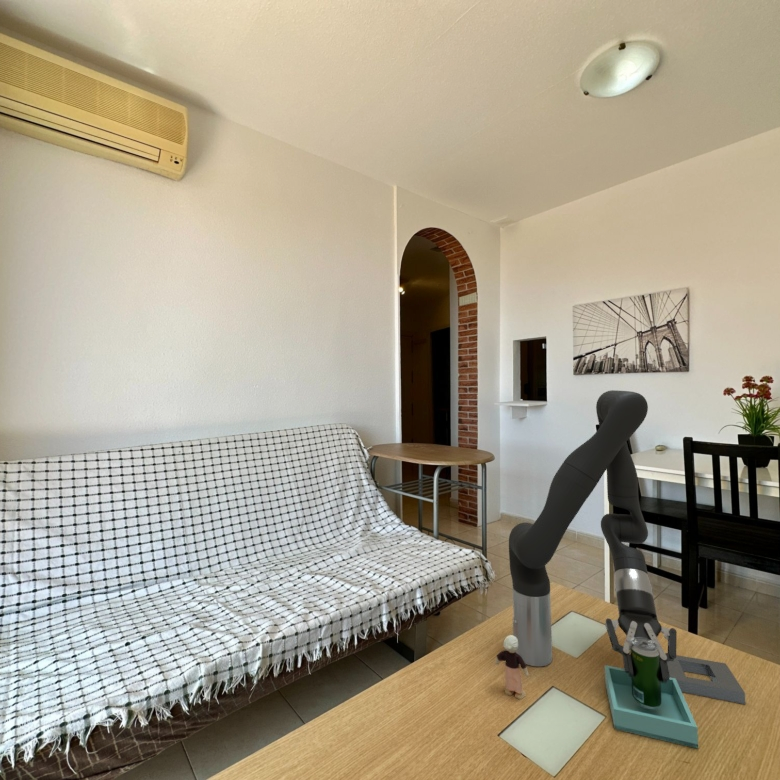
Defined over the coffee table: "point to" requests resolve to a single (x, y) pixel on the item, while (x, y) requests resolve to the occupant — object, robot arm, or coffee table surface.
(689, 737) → the tray
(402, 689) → the coffee table surface
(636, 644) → the beer can
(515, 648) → the grandmother figurine
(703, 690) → the gray rectangular block
